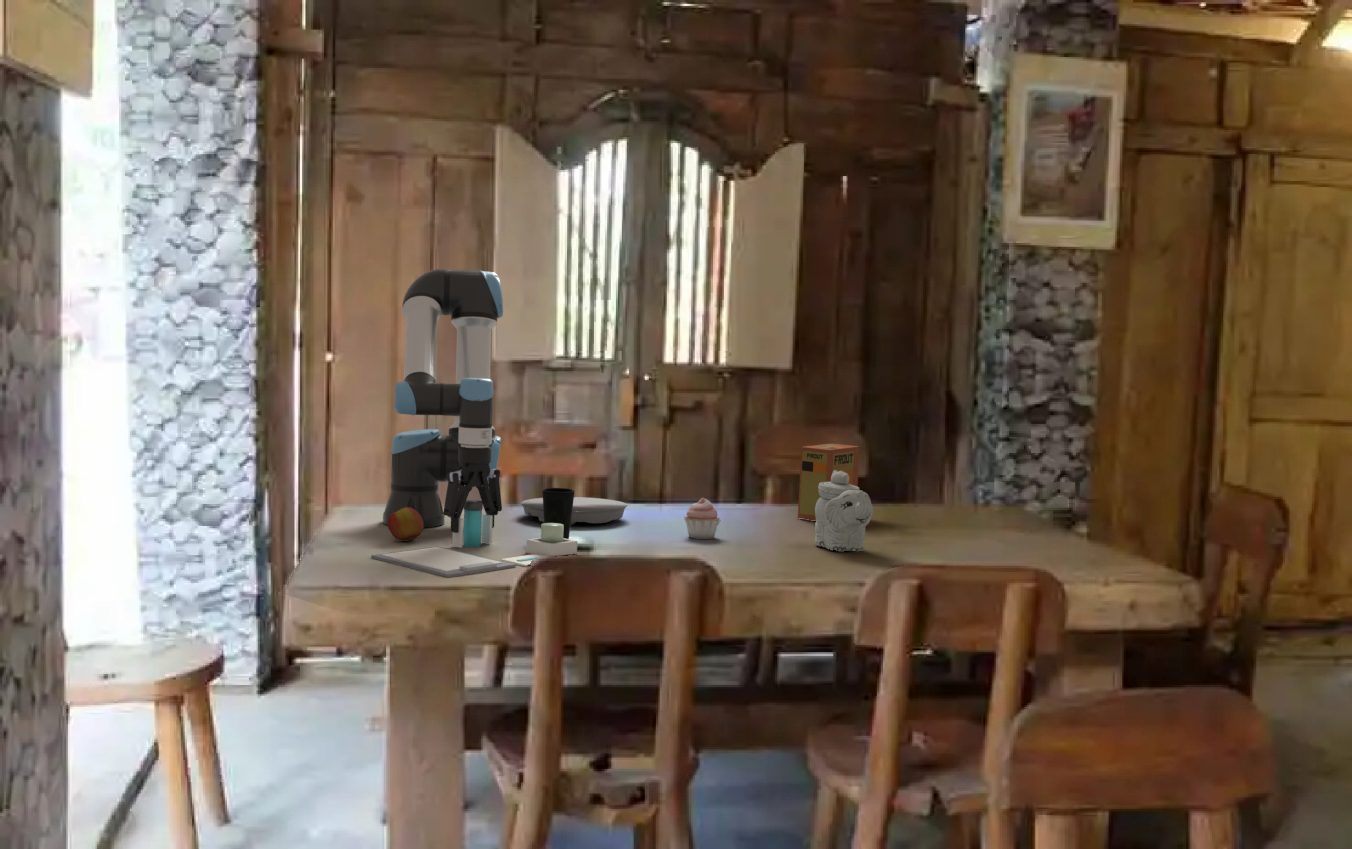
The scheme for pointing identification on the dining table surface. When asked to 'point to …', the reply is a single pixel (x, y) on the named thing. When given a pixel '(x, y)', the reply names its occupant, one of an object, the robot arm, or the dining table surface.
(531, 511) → the flat disc
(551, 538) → the button
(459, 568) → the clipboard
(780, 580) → the dining table surface
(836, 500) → the white elephant jar
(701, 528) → the cupcake
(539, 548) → the button box
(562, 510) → the cup
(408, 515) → the apple
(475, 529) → the teal bottle
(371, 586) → the dining table surface
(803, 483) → the box
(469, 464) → the robot arm
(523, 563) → the card
